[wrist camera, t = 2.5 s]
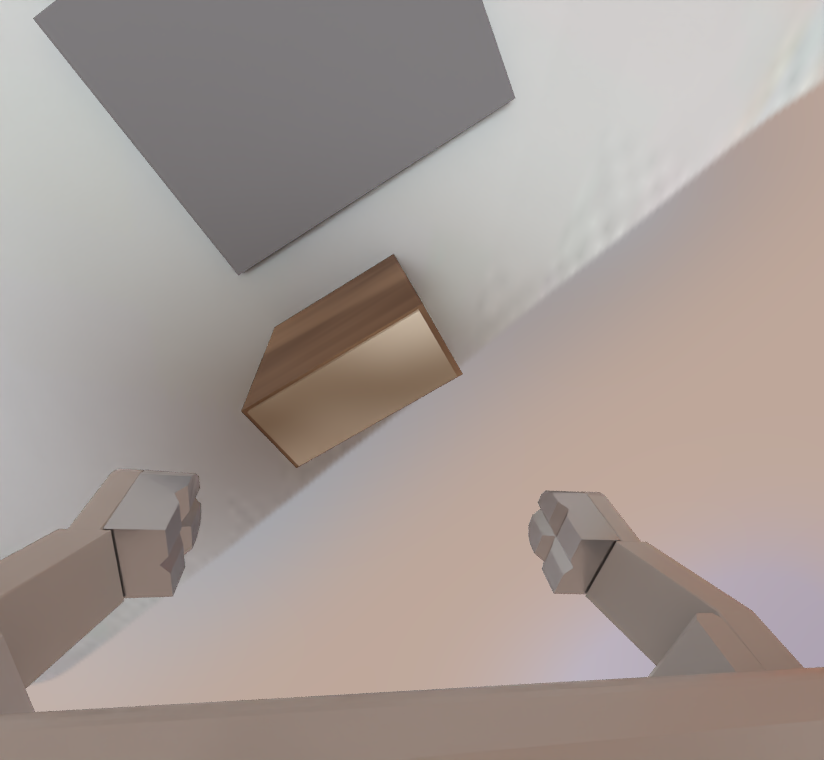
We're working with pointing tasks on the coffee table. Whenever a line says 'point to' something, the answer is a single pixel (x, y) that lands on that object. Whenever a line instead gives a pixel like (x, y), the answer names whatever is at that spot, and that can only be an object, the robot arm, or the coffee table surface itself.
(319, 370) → the wooden block
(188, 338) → the coffee table surface
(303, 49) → the mat
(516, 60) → the coffee table surface
